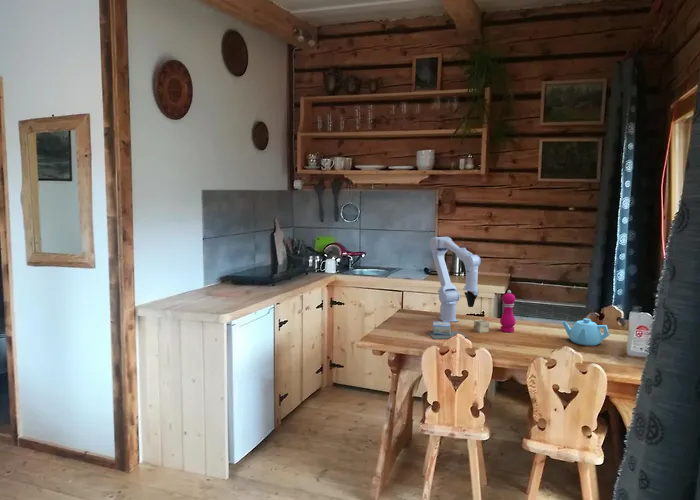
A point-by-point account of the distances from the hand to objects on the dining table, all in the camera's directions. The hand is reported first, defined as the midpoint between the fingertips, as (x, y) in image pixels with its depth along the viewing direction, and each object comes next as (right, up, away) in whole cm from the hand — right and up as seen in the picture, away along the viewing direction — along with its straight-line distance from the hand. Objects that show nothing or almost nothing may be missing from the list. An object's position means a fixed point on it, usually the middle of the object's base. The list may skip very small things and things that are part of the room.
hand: (470, 306), depth 270 cm
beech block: (+4, -11, -5) cm, 13 cm away
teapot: (+47, -14, -22) cm, 54 cm away
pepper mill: (+17, -11, -4) cm, 21 cm away
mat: (-14, -12, -14) cm, 23 cm away
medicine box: (-16, -9, -6) cm, 19 cm away
